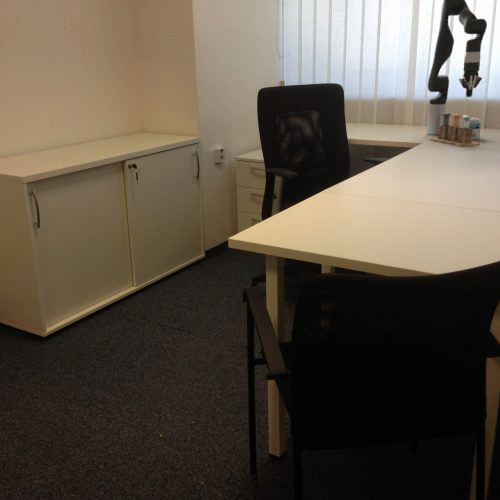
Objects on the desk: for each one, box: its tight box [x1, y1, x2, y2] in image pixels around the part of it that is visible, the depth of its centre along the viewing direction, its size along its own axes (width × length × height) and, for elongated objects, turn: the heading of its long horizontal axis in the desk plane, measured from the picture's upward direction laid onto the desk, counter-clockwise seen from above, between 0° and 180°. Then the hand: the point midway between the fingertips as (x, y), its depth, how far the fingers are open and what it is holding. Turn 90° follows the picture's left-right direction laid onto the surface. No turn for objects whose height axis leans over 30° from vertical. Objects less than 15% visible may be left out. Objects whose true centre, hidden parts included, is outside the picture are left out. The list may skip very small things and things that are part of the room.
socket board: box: [429, 125, 481, 148], centre depth 312 cm, size 25×12×8 cm, turn 21°
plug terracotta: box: [451, 113, 462, 128], centre depth 310 cm, size 4×4×9 cm
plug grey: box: [461, 115, 473, 130], centre depth 303 cm, size 4×4×9 cm
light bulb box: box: [462, 117, 482, 141], centre depth 324 cm, size 11×7×11 cm, turn 179°
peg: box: [442, 112, 452, 126], centre depth 317 cm, size 4×4×9 cm
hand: (468, 96), depth 298 cm, fingers closed
